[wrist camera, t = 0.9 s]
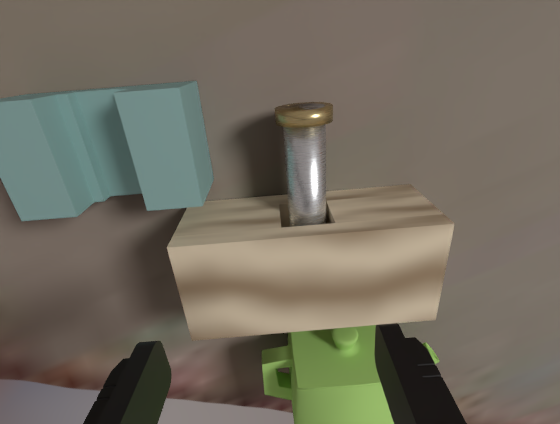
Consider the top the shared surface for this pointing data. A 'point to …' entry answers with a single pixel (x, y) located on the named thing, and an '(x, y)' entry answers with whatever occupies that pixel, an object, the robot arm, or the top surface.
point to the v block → (104, 148)
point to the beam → (310, 263)
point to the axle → (305, 159)
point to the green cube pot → (329, 376)
